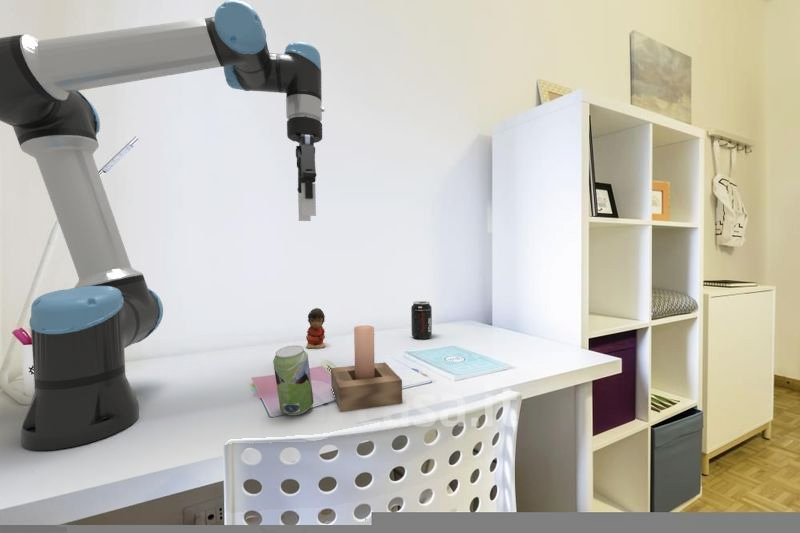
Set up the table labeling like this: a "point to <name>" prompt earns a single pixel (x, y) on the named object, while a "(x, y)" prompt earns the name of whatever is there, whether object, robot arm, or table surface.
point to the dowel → (364, 352)
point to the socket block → (365, 388)
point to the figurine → (315, 329)
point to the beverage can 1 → (293, 380)
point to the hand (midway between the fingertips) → (306, 218)
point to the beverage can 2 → (421, 320)
